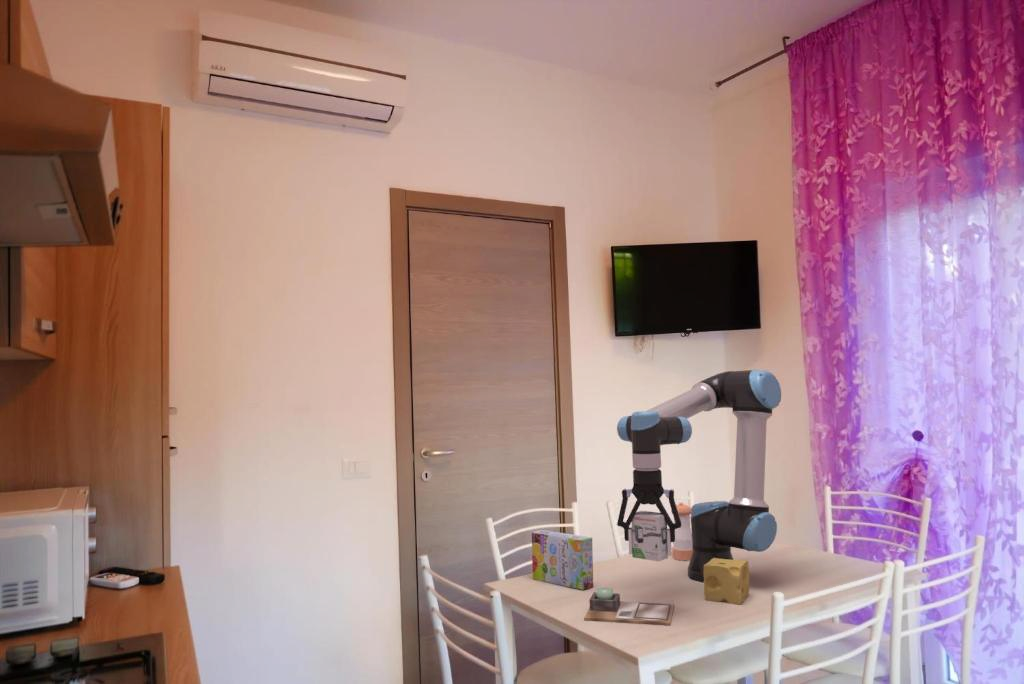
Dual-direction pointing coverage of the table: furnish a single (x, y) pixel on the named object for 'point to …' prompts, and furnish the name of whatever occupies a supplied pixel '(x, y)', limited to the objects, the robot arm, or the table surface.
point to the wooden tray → (628, 611)
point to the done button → (604, 593)
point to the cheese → (726, 580)
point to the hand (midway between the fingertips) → (650, 553)
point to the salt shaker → (683, 535)
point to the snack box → (562, 559)
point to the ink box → (649, 536)
